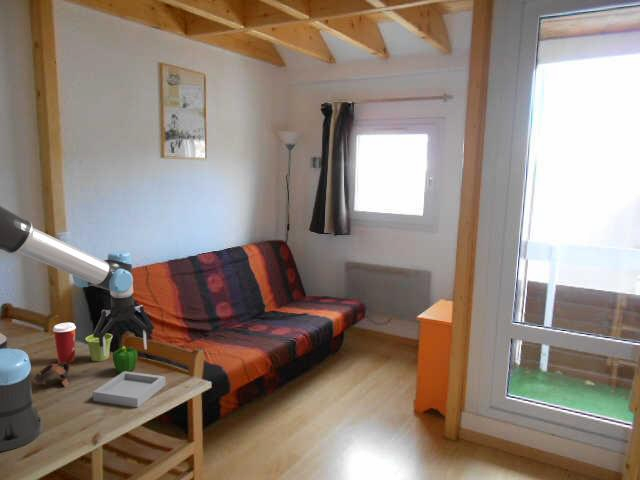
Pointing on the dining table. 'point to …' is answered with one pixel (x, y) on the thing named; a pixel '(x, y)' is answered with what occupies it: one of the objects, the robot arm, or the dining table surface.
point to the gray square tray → (129, 389)
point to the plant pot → (98, 347)
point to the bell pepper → (125, 359)
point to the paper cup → (65, 342)
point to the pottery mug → (49, 373)
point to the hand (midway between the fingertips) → (125, 351)
